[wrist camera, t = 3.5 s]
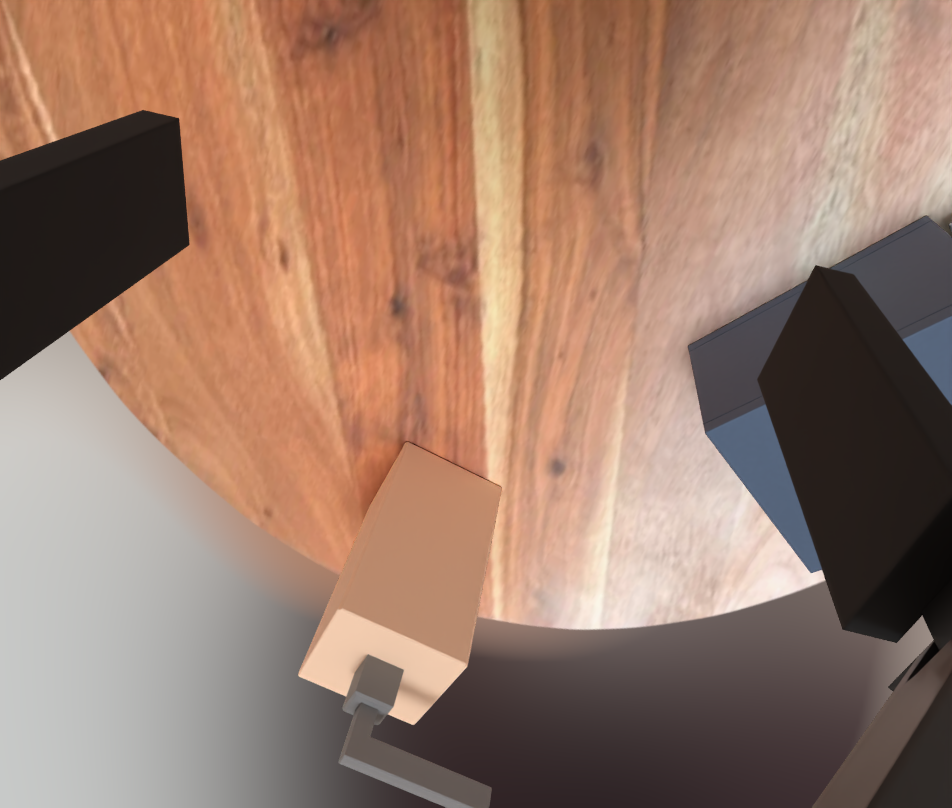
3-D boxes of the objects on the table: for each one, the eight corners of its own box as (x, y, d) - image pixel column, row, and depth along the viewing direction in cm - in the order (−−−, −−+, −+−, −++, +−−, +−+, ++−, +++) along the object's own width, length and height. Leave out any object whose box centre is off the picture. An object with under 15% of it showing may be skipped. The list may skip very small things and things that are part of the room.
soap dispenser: (368, 507, 57) (259, 764, 39) (406, 440, 52) (301, 699, 34) (499, 568, 59) (452, 842, 41) (548, 509, 54) (518, 791, 36)
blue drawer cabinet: (926, 214, 37) (1011, 287, 29) (1006, 375, 41) (1099, 475, 34) (687, 345, 44) (704, 433, 36) (778, 471, 48) (810, 573, 40)
